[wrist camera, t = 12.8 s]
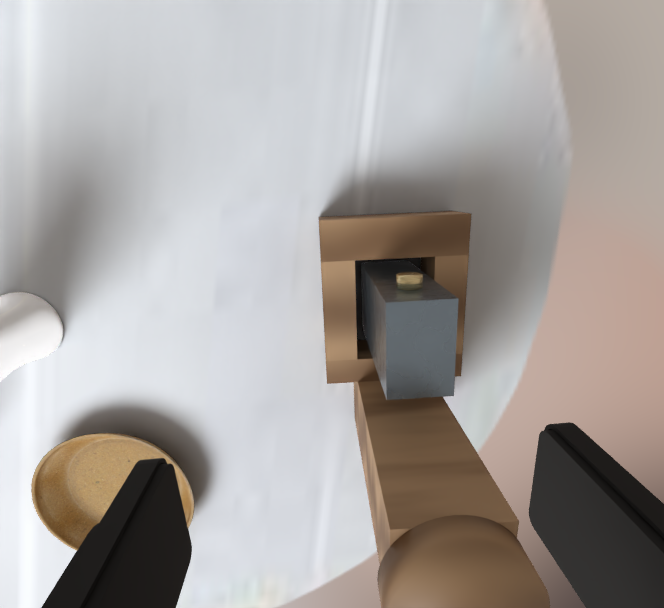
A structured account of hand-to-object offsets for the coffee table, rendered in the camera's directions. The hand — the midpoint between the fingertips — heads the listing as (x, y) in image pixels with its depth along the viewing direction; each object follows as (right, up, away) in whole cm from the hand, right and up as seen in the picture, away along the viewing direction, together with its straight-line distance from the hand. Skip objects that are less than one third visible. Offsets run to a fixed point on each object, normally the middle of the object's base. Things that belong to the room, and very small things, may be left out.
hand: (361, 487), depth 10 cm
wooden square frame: (+4, +3, +24) cm, 25 cm away
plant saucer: (-21, -13, +28) cm, 38 cm away
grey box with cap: (+4, +5, +23) cm, 24 cm away
